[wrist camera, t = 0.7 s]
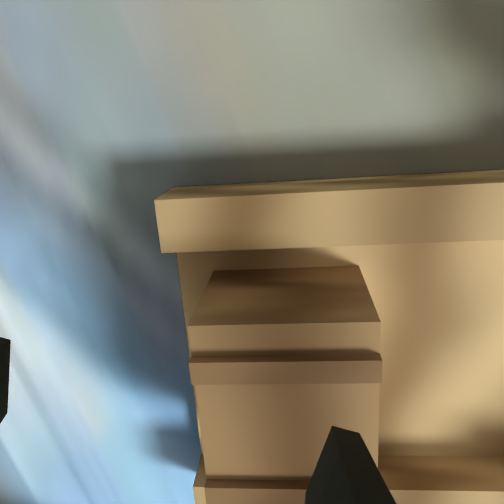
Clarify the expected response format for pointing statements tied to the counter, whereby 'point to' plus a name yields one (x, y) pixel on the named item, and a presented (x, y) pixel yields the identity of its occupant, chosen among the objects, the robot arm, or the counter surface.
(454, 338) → the wooden base
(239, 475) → the crate
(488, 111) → the counter surface
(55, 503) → the counter surface
